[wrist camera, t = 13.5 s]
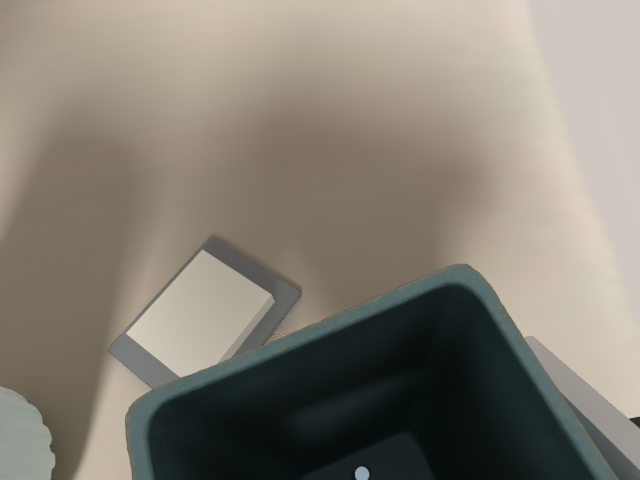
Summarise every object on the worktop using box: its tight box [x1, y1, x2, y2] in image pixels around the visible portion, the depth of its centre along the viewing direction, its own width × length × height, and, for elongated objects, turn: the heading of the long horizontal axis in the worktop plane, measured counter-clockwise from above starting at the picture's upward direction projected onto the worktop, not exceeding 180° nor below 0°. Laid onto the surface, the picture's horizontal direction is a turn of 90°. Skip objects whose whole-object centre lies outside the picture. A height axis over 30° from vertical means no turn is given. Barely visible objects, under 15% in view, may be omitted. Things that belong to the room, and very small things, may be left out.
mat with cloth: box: [107, 236, 301, 389], centre depth 29 cm, size 10×8×2 cm
